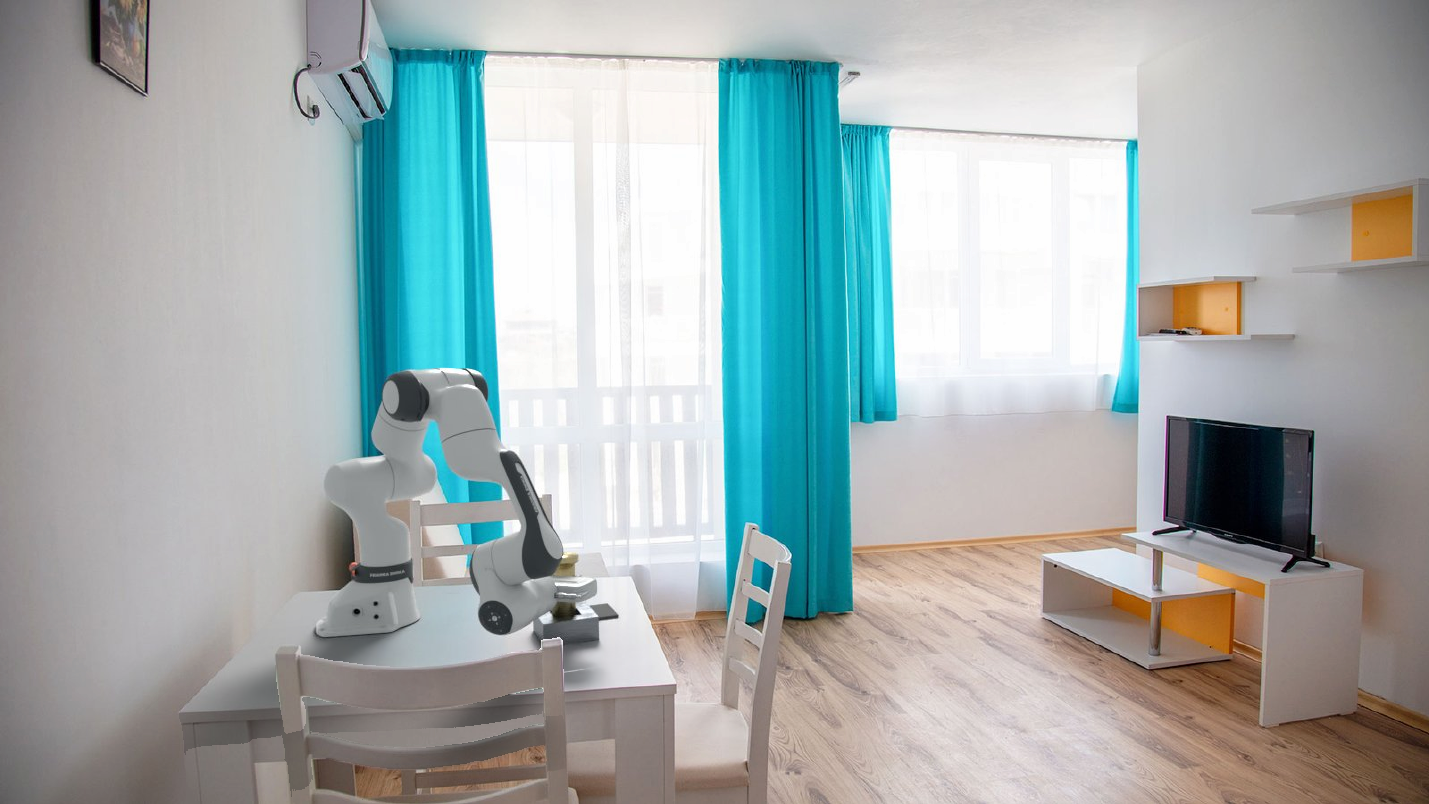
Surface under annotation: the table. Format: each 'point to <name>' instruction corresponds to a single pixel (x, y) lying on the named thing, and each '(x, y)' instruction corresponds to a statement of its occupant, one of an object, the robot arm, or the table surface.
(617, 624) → the table surface
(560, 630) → the housing
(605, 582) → the table surface
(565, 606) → the brass flanged peg
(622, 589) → the table surface
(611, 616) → the mat
